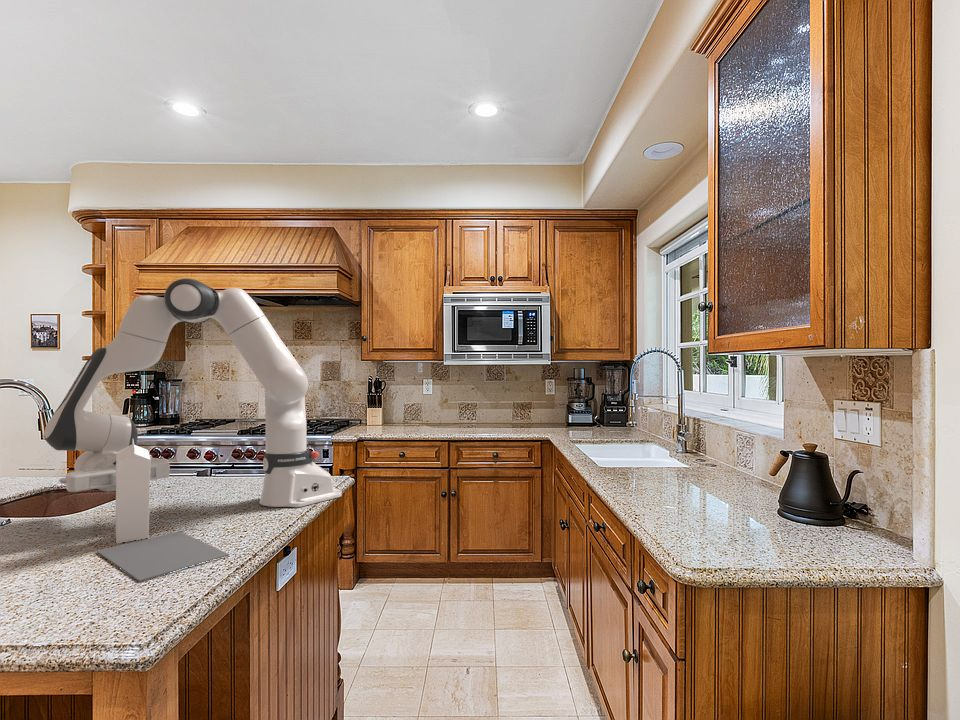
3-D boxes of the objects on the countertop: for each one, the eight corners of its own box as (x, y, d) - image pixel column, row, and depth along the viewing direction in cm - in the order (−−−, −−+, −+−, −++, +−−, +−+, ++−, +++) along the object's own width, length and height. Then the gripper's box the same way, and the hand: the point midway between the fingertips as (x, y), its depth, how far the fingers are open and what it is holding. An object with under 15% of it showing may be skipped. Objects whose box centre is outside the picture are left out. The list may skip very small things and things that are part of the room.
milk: (116, 544, 112) (116, 448, 108) (115, 531, 117) (115, 439, 113) (149, 538, 116) (150, 445, 112) (147, 525, 120) (148, 436, 116)
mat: (96, 552, 107) (96, 550, 107) (179, 532, 119) (179, 531, 119) (139, 582, 92) (139, 580, 92) (229, 556, 105) (229, 554, 105)
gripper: (56, 466, 117) (74, 473, 109) (156, 453, 133) (179, 459, 125) (56, 493, 117) (74, 503, 109) (156, 477, 133) (179, 485, 125)
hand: (131, 479), depth 117 cm, fingers closed
